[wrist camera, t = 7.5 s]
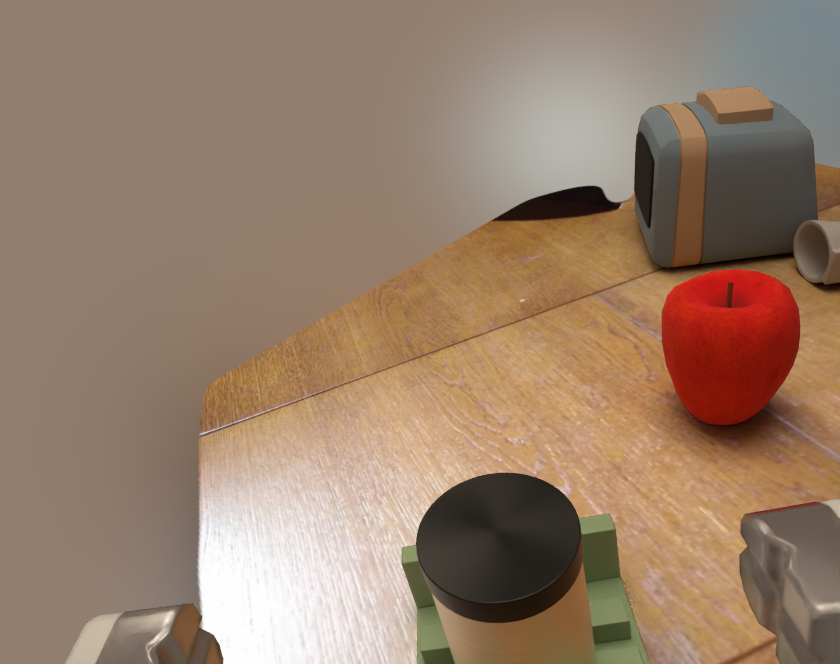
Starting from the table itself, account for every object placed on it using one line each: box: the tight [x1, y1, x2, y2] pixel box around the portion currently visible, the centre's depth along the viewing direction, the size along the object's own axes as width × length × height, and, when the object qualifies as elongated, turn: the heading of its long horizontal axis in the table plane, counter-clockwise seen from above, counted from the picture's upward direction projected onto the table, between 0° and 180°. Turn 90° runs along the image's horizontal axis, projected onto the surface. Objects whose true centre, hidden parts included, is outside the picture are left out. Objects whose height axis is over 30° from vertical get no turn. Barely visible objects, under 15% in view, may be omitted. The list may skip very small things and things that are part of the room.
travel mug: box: [416, 473, 597, 664], centre depth 28 cm, size 7×7×10 cm
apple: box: [662, 269, 800, 425], centre depth 44 cm, size 9×9×11 cm
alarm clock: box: [634, 87, 818, 268], centre depth 68 cm, size 16×16×16 cm
